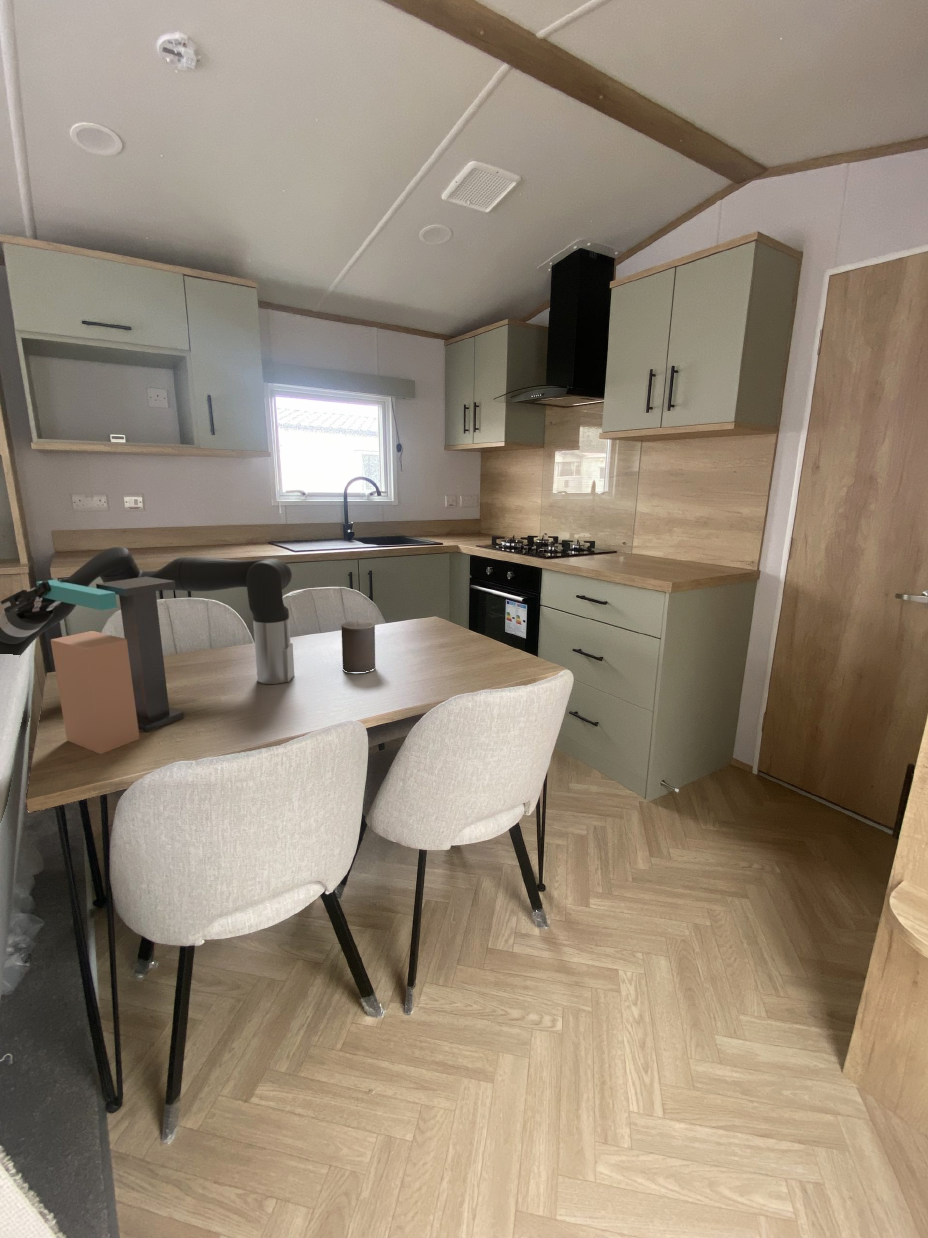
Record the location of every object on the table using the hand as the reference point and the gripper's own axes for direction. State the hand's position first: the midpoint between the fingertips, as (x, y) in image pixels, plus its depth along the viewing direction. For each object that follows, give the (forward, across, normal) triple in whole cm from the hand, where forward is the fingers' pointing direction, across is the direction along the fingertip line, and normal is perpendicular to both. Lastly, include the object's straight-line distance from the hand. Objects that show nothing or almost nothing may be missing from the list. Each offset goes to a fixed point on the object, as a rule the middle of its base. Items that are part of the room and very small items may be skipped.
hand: (57, 583), depth 113 cm
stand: (-9, -11, -32) cm, 35 cm away
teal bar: (+4, 0, -6) cm, 7 cm away
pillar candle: (+6, -64, -41) cm, 76 cm away
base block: (-9, 0, -32) cm, 33 cm away
